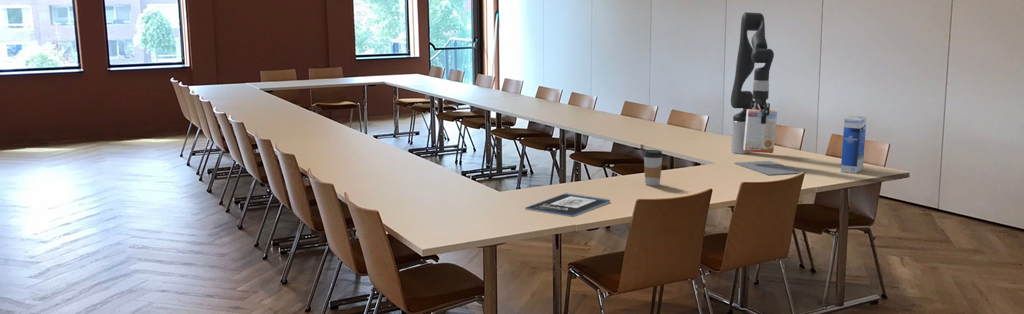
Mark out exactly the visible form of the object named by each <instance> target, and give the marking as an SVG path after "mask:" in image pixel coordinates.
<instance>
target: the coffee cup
mask: <svg viewBox="0 0 1024 314" xmlns="http://www.w3.org/2000/svg"><path fill="white" fill-rule="evenodd" d="M643 157H644V158H643V161H644V183H645V185H646V186H649V187H657V186H660V184H661V177H662V176H661V175H662V163H663V157H664V156H663V151H662V150H659V149H647V150H644V153H643Z"/></svg>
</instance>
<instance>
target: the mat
mask: <svg viewBox="0 0 1024 314" xmlns="http://www.w3.org/2000/svg"><path fill="white" fill-rule="evenodd" d="M734 165H737V166H740V167H742V168H743V167H744V168H745V169H748V170H751V171H755V172H758V173H761V174H763V175H767V176H780V175H781V176H782V175H786V176H787V175H799V174H798V173H801V172H805V173H804V174H807V172H806V171H804V170H800V169H797V168H794V167H791V166H787V165H784V164H782V163H778V162H775V161H772V160H761V161H757V160H756V161H745V162H744V161H743V162H742V161H740V162H734Z"/></svg>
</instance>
